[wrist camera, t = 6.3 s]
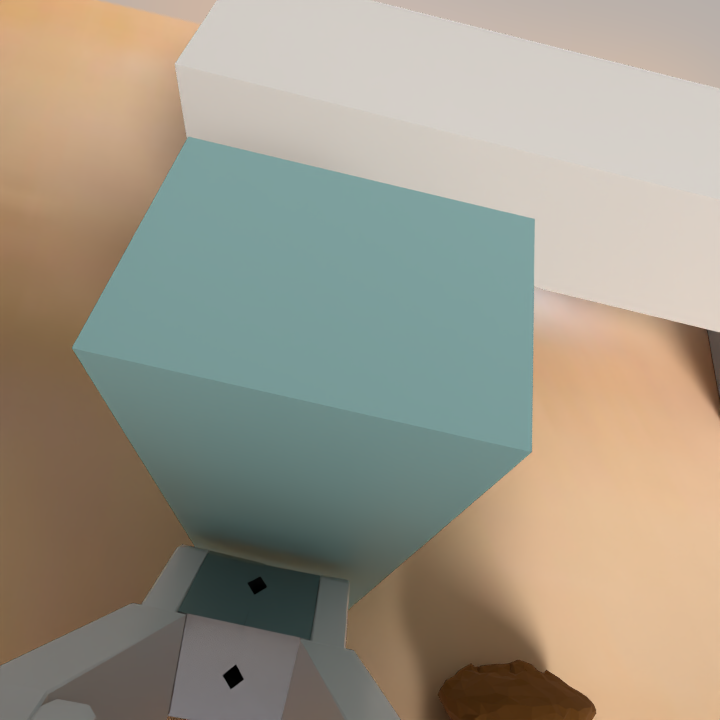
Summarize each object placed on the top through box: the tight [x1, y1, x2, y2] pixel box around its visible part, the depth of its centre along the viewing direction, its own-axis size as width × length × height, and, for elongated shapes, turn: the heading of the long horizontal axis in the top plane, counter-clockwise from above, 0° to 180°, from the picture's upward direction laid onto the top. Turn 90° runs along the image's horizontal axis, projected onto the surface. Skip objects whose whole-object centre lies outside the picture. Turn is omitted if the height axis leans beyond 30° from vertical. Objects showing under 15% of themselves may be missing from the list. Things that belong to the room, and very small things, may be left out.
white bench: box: [175, 0, 720, 397], centre depth 16 cm, size 20×4×8 cm, turn 79°
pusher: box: [72, 137, 535, 609], centre depth 12 cm, size 4×12×12 cm, turn 169°
